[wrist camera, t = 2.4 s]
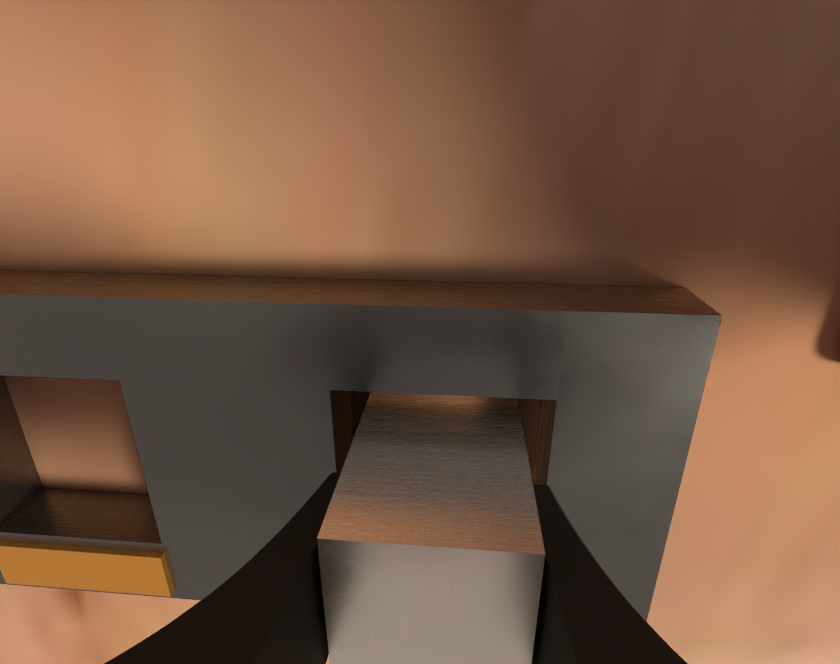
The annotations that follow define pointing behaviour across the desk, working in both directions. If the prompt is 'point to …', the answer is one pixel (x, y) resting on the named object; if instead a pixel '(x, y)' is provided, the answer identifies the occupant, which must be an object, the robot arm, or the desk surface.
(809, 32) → the desk surface
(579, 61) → the desk surface
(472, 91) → the desk surface
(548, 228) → the desk surface
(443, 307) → the grey board with holes
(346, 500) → the peg
